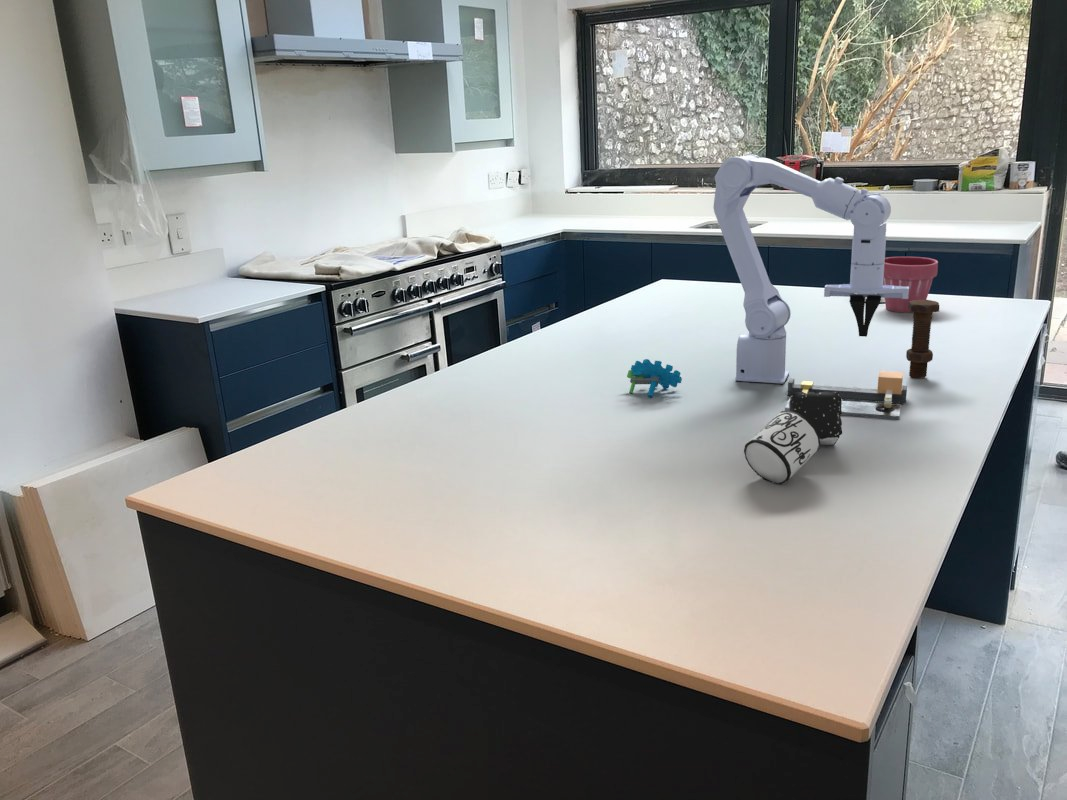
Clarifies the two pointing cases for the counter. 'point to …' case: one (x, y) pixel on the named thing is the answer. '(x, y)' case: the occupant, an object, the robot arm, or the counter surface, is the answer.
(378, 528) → the counter surface
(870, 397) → the rail
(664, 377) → the blue stegosaurus toy
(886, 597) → the counter surface
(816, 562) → the counter surface
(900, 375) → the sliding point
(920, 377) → the bolt
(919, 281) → the plant pot
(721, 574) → the counter surface
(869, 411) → the hole plate
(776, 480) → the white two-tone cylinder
